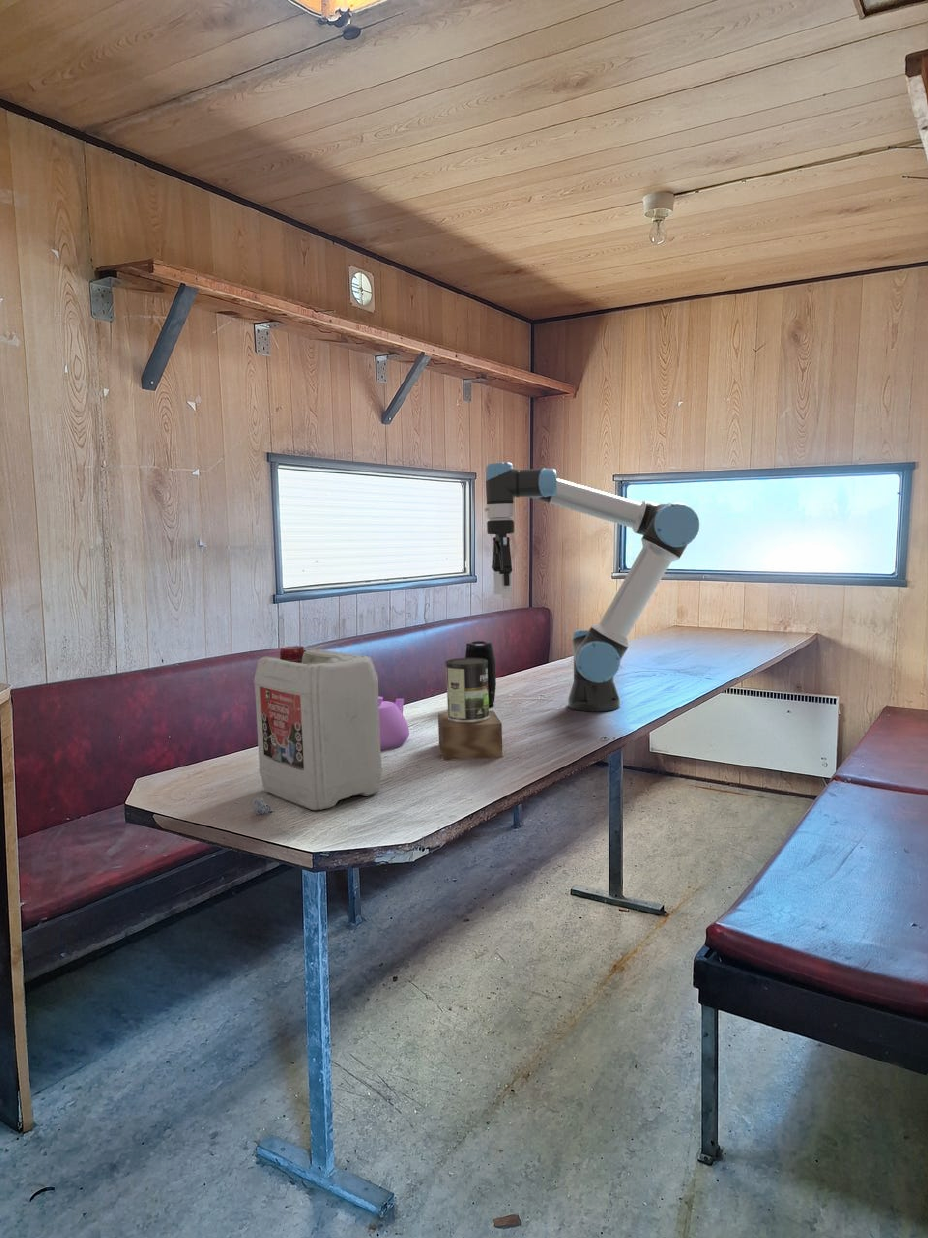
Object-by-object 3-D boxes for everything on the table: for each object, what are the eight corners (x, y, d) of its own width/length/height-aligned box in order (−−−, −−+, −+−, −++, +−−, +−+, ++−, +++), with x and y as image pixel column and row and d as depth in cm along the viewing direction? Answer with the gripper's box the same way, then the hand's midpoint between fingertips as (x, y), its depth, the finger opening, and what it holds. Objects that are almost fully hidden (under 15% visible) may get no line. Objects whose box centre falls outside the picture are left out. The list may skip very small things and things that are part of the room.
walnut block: (493, 741, 203) (493, 710, 202) (502, 756, 189) (501, 723, 189) (438, 744, 202) (437, 713, 201) (443, 760, 188) (442, 726, 187)
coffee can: (492, 713, 199) (491, 657, 198) (485, 723, 189) (483, 664, 187) (452, 712, 201) (450, 657, 200) (442, 722, 191) (440, 664, 190)
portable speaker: (501, 706, 243) (499, 642, 240) (474, 711, 238) (473, 645, 236) (486, 701, 250) (484, 639, 248) (460, 705, 245) (458, 642, 243)
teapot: (377, 758, 192) (375, 708, 191) (327, 750, 200) (324, 703, 198) (427, 736, 211) (426, 691, 209) (380, 730, 219) (378, 686, 217)
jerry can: (252, 791, 169) (243, 651, 166) (325, 771, 182) (319, 640, 179) (316, 818, 152) (308, 662, 149) (392, 793, 165) (387, 649, 162)
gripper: (481, 520, 234) (483, 593, 237) (493, 519, 210) (495, 600, 212) (506, 519, 235) (508, 592, 238) (521, 518, 211) (523, 599, 213)
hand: (502, 596), depth 225 cm, fingers open, 13 cm apart
